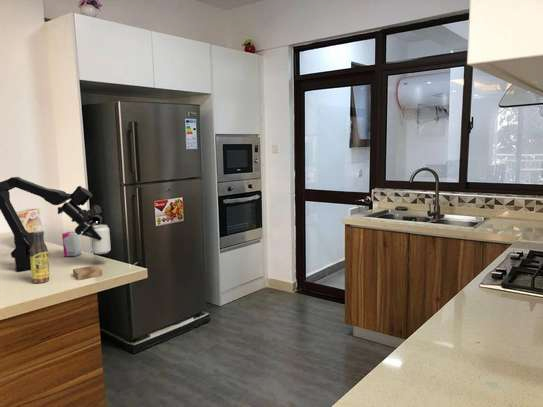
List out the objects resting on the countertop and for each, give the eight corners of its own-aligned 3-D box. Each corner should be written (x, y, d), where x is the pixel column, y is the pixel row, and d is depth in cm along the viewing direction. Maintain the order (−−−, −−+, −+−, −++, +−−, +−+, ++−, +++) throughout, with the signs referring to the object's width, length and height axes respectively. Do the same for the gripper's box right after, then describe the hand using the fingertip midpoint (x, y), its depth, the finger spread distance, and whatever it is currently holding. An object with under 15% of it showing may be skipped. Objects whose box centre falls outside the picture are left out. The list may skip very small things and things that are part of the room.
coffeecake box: (28, 248, 223) (24, 212, 221) (15, 248, 224) (11, 212, 221) (43, 242, 238) (40, 208, 236) (31, 242, 238) (27, 208, 236)
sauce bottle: (37, 285, 160) (32, 233, 158) (28, 282, 163) (23, 232, 161) (54, 280, 166) (49, 230, 163) (45, 278, 169) (40, 229, 166)
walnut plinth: (78, 280, 165) (78, 274, 164) (73, 275, 172) (72, 269, 172) (102, 275, 170) (101, 269, 170) (96, 270, 177) (95, 265, 177)
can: (93, 255, 179) (91, 227, 178) (91, 251, 186) (89, 225, 184) (111, 253, 183) (110, 226, 181) (109, 249, 189) (108, 223, 188)
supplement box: (81, 254, 208) (79, 231, 206) (75, 257, 202) (73, 233, 201) (70, 254, 209) (68, 231, 207) (63, 257, 203) (61, 233, 201)
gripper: (80, 202, 172) (110, 228, 174) (95, 197, 190) (122, 220, 192) (62, 222, 172) (91, 247, 174) (79, 215, 191) (105, 238, 193)
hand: (103, 237), depth 184 cm, fingers closed on can, 7 cm apart
